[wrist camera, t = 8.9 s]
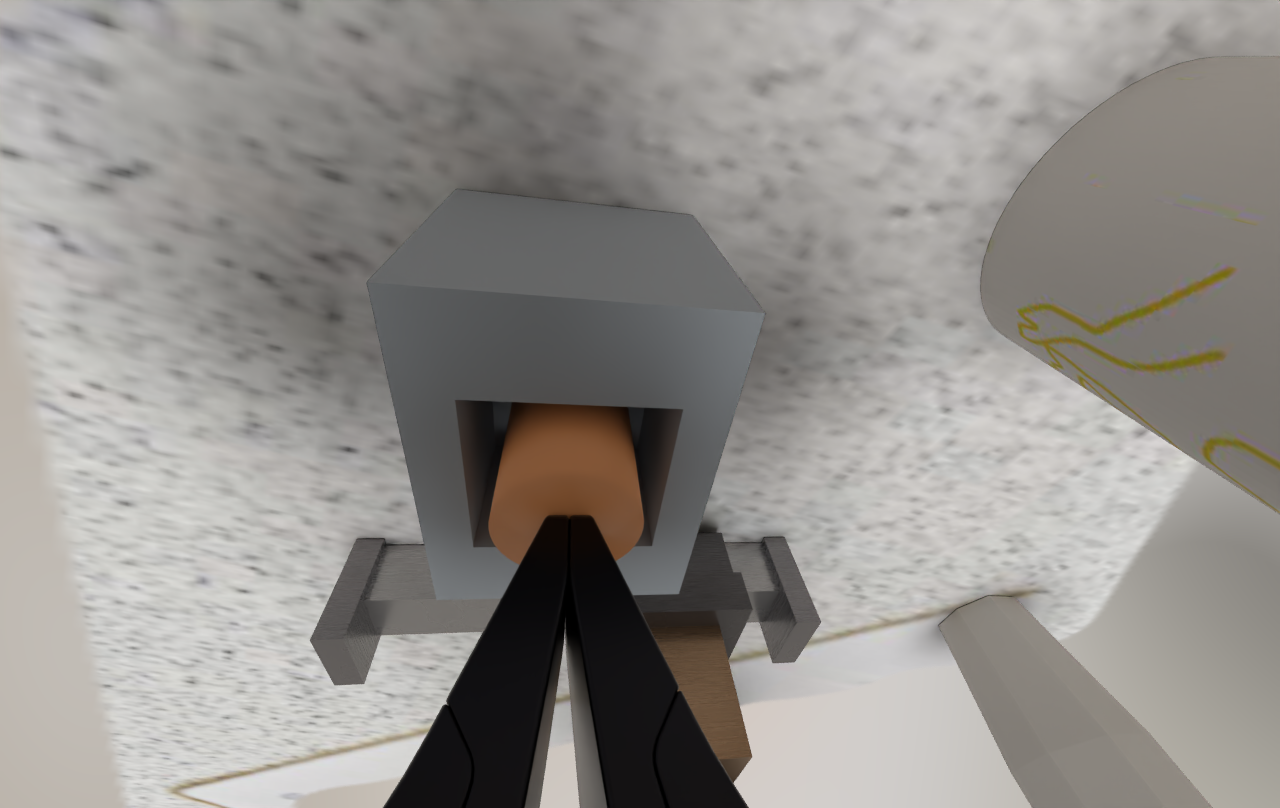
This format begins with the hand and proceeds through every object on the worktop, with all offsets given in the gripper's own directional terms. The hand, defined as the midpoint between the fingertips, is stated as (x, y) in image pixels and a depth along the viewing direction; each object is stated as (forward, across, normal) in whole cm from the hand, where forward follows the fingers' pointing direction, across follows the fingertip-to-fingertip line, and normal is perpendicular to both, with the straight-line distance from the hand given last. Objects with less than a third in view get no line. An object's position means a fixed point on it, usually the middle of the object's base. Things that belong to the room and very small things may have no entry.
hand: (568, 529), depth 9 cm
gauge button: (+4, 0, 0) cm, 4 cm away
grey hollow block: (+7, 0, 0) cm, 7 cm away
